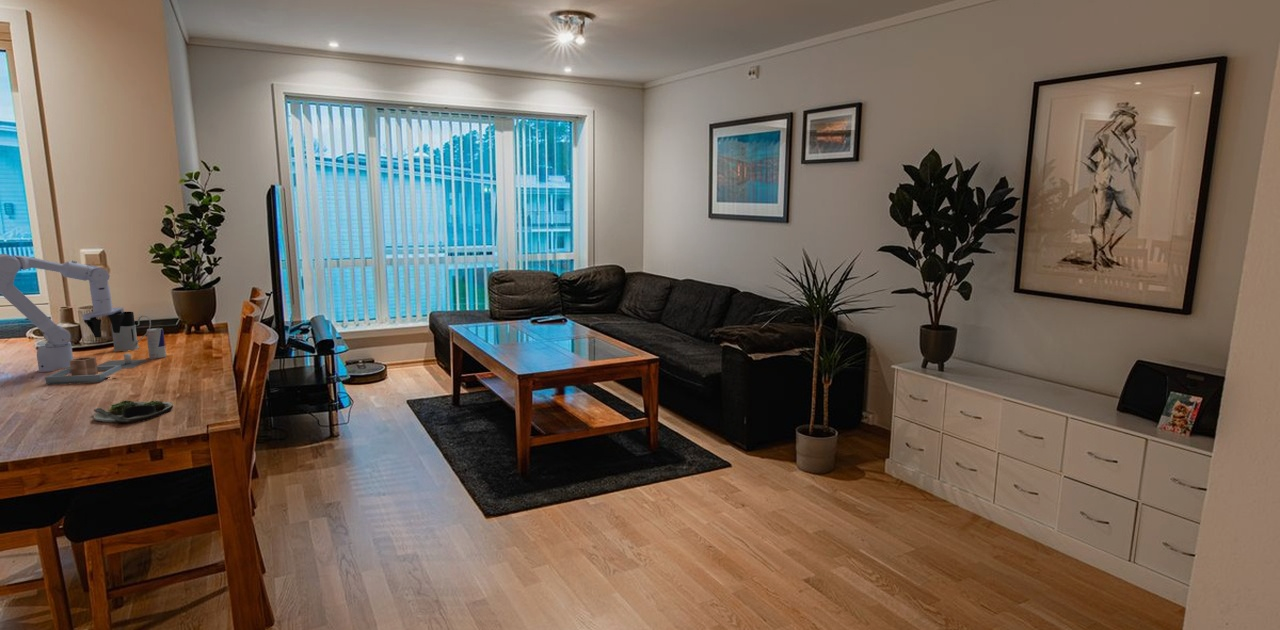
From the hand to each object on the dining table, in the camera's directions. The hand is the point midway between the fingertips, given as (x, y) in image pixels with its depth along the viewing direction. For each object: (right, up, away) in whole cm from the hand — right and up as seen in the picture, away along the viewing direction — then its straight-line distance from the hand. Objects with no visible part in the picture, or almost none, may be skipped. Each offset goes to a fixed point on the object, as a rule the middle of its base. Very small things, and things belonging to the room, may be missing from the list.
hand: (107, 334), depth 258 cm
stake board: (+9, -12, -5) cm, 16 cm away
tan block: (+8, -14, -21) cm, 26 cm away
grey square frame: (+8, -14, -20) cm, 26 cm away
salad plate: (+53, -22, -58) cm, 82 cm away
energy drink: (+15, -10, +6) cm, 19 cm away
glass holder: (-7, -7, +24) cm, 26 cm away
